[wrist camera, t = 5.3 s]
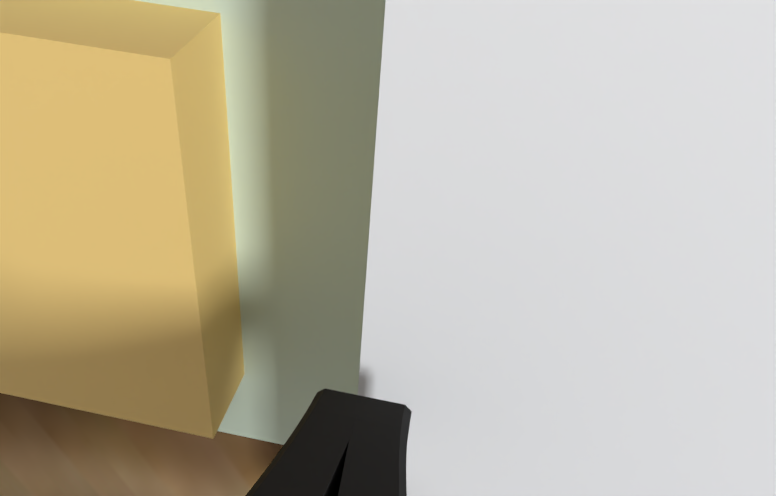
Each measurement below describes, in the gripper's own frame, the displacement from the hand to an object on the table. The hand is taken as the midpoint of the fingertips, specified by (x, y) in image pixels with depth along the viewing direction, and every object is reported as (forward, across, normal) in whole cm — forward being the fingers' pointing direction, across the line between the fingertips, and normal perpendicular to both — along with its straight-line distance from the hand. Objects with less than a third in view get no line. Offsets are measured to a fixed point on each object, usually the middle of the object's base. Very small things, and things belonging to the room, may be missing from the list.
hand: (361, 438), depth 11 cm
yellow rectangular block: (+3, +7, 0) cm, 7 cm away
